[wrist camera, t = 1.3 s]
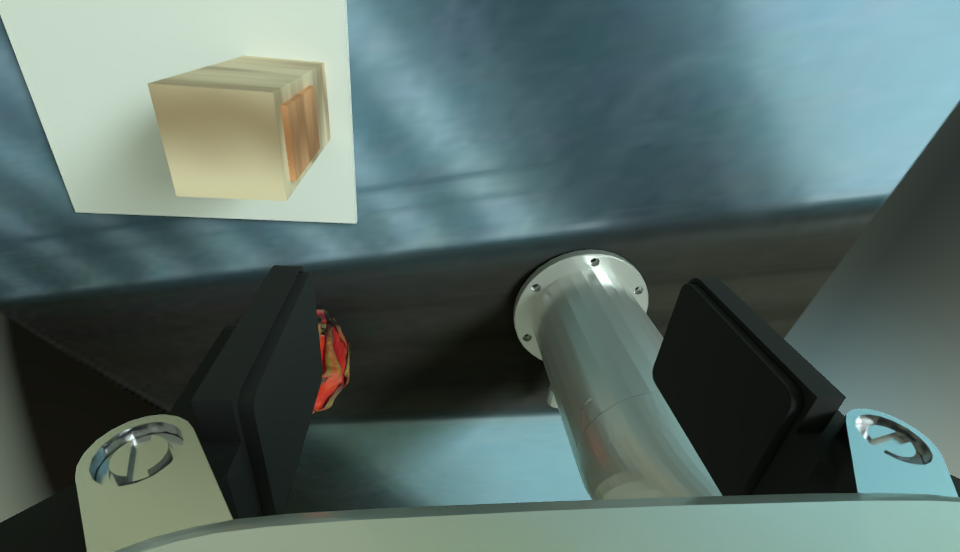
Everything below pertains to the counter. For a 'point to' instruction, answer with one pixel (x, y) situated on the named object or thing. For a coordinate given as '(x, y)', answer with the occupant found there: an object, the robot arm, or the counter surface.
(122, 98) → the mat
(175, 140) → the wood block
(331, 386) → the dragon fruit
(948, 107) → the counter surface
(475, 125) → the counter surface
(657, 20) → the counter surface
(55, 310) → the counter surface
